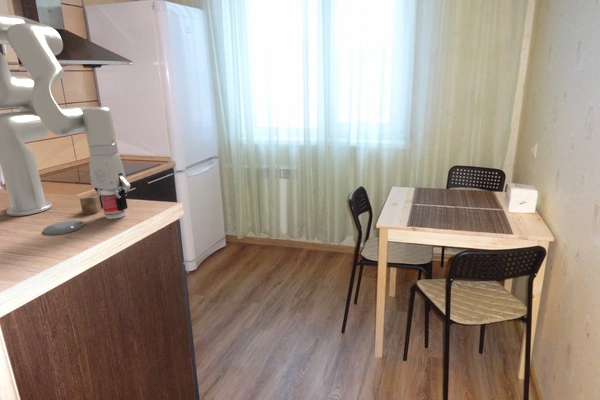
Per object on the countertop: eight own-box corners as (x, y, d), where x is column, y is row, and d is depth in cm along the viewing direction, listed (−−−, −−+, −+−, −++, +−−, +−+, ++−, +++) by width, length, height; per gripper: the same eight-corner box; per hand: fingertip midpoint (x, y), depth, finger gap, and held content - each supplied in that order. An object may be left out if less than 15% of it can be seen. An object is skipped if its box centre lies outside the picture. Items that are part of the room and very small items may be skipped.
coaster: (35, 232, 113) (35, 230, 113) (68, 220, 122) (68, 218, 121) (59, 237, 109) (58, 234, 109) (91, 224, 117) (90, 222, 117)
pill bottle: (128, 216, 123) (122, 181, 120) (107, 221, 120) (100, 185, 117) (124, 211, 128) (118, 177, 125) (103, 215, 125) (96, 181, 122)
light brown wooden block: (82, 213, 128) (79, 198, 127) (91, 208, 133) (88, 193, 132) (97, 213, 128) (94, 198, 127) (106, 208, 133) (103, 193, 131)
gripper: (72, 151, 118) (84, 209, 123) (114, 153, 111) (125, 215, 116) (94, 147, 125) (105, 202, 130) (135, 149, 117) (145, 207, 123)
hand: (114, 207), depth 123 cm, fingers closed on pill bottle, 6 cm apart
